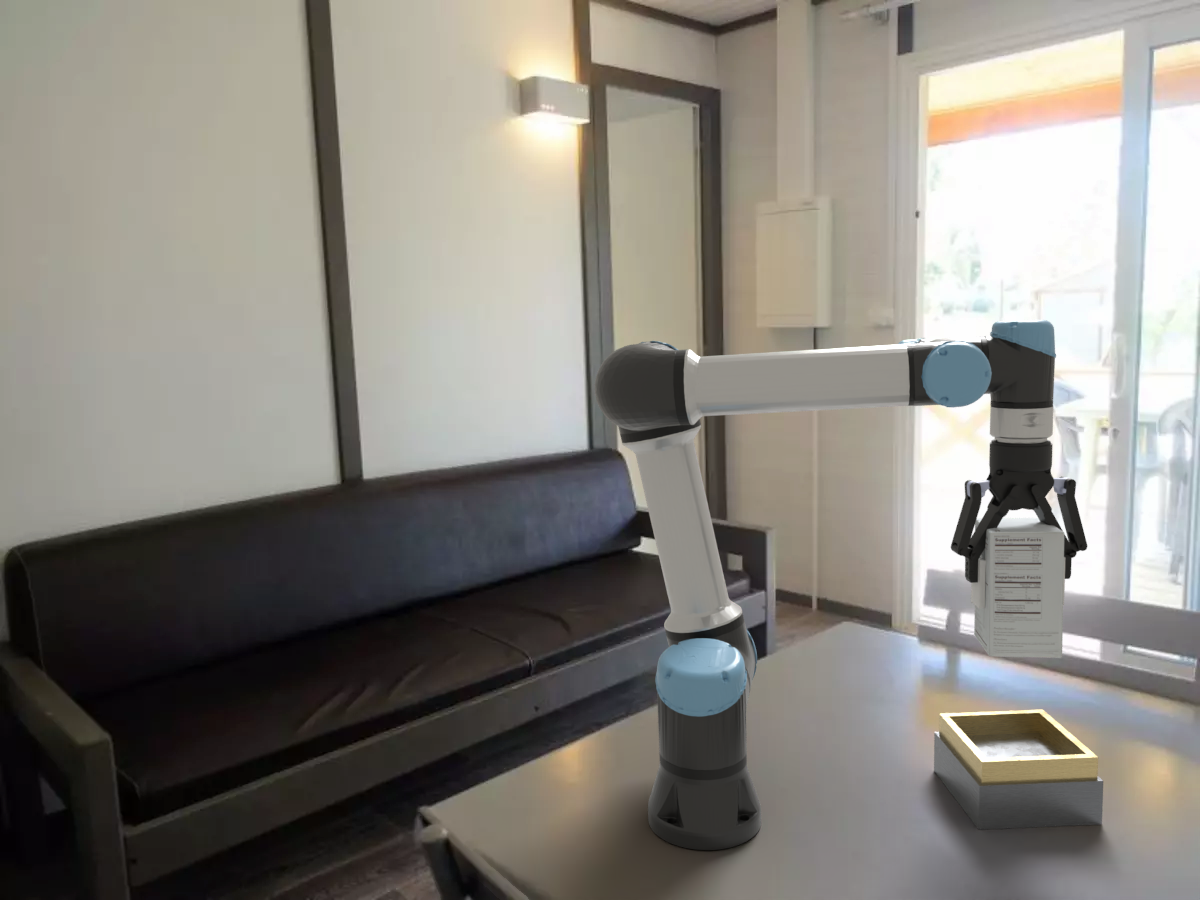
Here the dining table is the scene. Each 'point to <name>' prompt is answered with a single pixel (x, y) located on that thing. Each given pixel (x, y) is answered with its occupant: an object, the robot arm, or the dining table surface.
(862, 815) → the dining table surface
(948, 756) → the gray square bin
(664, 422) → the robot arm
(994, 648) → the supplement box
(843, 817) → the dining table surface
